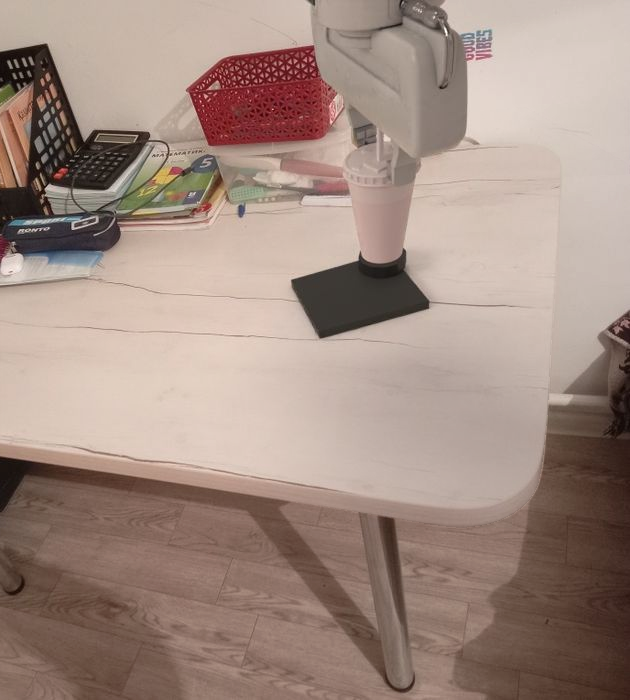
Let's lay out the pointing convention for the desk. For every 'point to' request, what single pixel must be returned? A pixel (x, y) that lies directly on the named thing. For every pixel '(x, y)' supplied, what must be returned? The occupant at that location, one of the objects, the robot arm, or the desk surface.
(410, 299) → the scale
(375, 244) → the smoothie
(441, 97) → the robot arm
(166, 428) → the desk surface
